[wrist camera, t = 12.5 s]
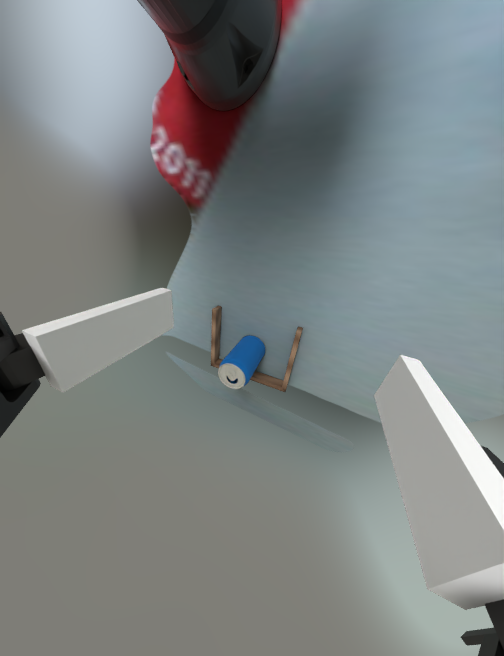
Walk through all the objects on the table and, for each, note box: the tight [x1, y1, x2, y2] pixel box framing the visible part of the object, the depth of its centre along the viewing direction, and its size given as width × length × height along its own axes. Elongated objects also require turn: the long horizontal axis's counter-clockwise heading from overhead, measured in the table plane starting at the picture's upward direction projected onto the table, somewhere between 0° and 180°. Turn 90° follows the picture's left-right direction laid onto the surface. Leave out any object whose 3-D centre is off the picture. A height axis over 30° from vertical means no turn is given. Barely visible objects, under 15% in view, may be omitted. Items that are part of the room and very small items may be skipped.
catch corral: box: [211, 306, 303, 392], centre depth 44 cm, size 16×20×2 cm
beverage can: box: [218, 336, 265, 389], centre depth 40 cm, size 6×6×12 cm
